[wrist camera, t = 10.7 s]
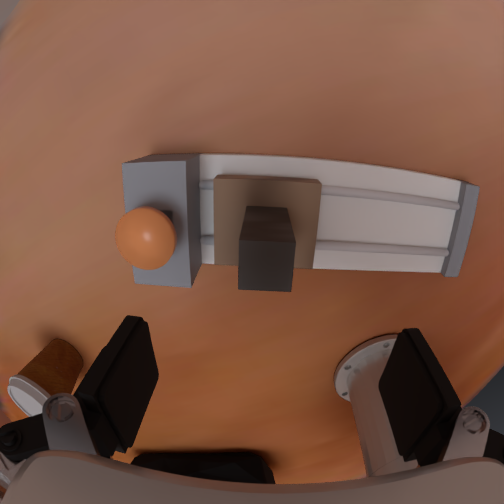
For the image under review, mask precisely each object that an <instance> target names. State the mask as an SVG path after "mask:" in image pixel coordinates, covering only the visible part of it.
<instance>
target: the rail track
mask: <svg viewBox="0 0 504 504" xmlns="http://www.w3.org/2000/svg"><path fill="white" fill-rule="evenodd" d="M122 173H123V188H124V201H125V212H126V213H128V212H129V211H131V210H132V209H134V208H137V207H141V206H149V207H153V208H156V209H158V210H160V211H161V212H163V213H164V214H165V215H166V216H167V217H168V218H169V219H170V220H171V222H172V223H173V225H174V227H175V230H176V234H177V245H176V249H175V251H174V253H173V255H172V256H171V258H170V259H169V261H168V262H167V263H166V264H165V265H163V266H162V267H160V268H158V269H154V270H144V269H140V268H137V267H135V266H133V265H132V267H133V273H134V279H135V283H138V284H149V285H161V286H174V287H188V288H191V287H192V285H193V283H194V280H195V278H196V276H197V273H198V271H199V269H200V267H201V264H202V263H206V264H214V209H213V179H214V178H215V177H216V176H217V175H255V176H276V177H293V178H308V179H318V180H319V181H320V182H321V183H322V190H321V201H320V211H319V220H318V229H317V238H316V246H315V254H314V262H313V268H314V269H341V270H370V271H403V272H440V273H441V274H442V275H443V276H444V277H458V275H459V271H460V268H461V265H462V262H463V258H464V255H465V251H466V248H467V244H468V240H469V236H470V232H471V228H472V224H473V219H474V215H475V210H476V205H477V200H478V194H479V188H480V187H479V186H476V185H474V184H471V183H469V182H466V181H462V180H457V179H453V178H448V177H443V176H438V175H433V174H428V173H423V172H418V171H412V170H406V169H400V168H394V167H387V166H381V165H374V164H366V163H358V162H350V161H341V160H332V159H321V158H310V157H297V156H282V155H262V154H225V153H195V154H159V155H149V156H145V157H142V158H138V159H135V160H132V161H128V162H125V163H122Z"/></svg>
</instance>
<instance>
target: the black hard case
mask: <svg viewBox="0 0 504 504" xmlns="http://www.w3.org/2000/svg"><path fill="white" fill-rule="evenodd" d="M131 465H135V466H139V467H143V468H148V469H152V470H157V471H162V472H166V473H171V474H177V475H182V476H188V477H194V478H201V479H208V480H217V481H226V482H238V483H254V484H275V480H274V476H273V473H272V470H271V469H270V468H269V467H268V465H267V464H266V463H265V462H264V461H263V459H262V458H261V457H259V456H257V455H255V454H252V453H249V452H246V453H220V454H199V453H193V454H169V453H158V454H141V455H139V456H137V457H135V458H134V459H133V461H132V462H131Z"/></svg>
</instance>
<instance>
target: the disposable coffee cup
mask: <svg viewBox="0 0 504 504" xmlns="http://www.w3.org/2000/svg"><path fill="white" fill-rule="evenodd" d="M82 366H83V360H82V358H81V356H80V354H79V353H78V352H77V351H76V349H75V348H74V347H73V346H71V345H70V344H69V343H67V342H65V341H63V340H60V339H54V340H53V341H52V342H51V343H49V344H48V345H47V346H46V347H45V348H44V349H43V350H42V351H41V352H40V353H39V354H38V355H37V356H36V357H35V358H34V359H33V360H31V361H30V362H29V363H28V364H27V365H26V366H25V367H24V368H23V369H22V370H21V371H20V372H19V373H18V374H17V375H14V376H12V377H10V379H9V385H8V393H9V395H10V396H11V398H12V399H13V401H14V402H15V403H16V405H17V406H18V407H19V408H20V409H21V410H22V411H23V412H24V413H26V414H27V415H28V416H29V417H31V416H34V415H37V414H40V413H42V408H43V405H44V403H45V401H46V400H47V399H48V398H49V397H51V396H52V395H55V394H57V393H69V394H71V393H72V391H73V388H74V386H75V383H76V381H77V378H78V376H79V373H80V371H81V369H82Z"/></svg>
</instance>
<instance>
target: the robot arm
mask: <svg viewBox="0 0 504 504" xmlns="http://www.w3.org/2000/svg"><path fill="white" fill-rule="evenodd" d="M158 376H159V373H158V368H157V364H156V360H155V355H154V351H153V346H152V342H151V337H150V332H149V327H148V323H147V322H146V321H144V320H143V318H142V317H137V316H130V315H128V316H126V317H125V319H124V320H123V322H122V323H121V325H120V326H119V328H118V329H117V331H116V332H115V333H114V335H113V336H112V338H111V340H110V341H109V343H108V344H107V346H105V347H104V348H103V349H102V350H101V352H100V353H99V355H98V356H97V358H96V359H95V361H94V363H93V364H92V366H91V367H90V369H89V370H88V372H87V374H86V375H85V377H84V378H83V380H82V382H81V383H80V385H79V386H78V388H77V390H76V391H75V393H74V395H71V394H69V393H57V394H55V395H52V396H51V397H49V398H48V399H47V400H46V401H45V403H44V405H43V408H42V413H40V414H37V415H34V416H31V417H28V418H25V419H21V420H18V421H15V422H11V423H8V424H6V425H3V426H2V427H1V428H0V504H504V435H502V434H500V433H498V432H496V431H494V430H492V429H489V428H490V422H489V418H488V416H487V415H486V414H485V412H484V411H483V410H481V409H479V408H477V407H473V406H472V407H466V408H464V409H463V410H462V408H461V406H460V405H461V402H460V400H459V398H458V396H457V394H456V392H455V391H454V389H453V387H452V385H451V383H450V381H449V380H448V378H447V376H446V374H445V372H444V371H443V369H442V367H441V365H440V364H439V362H438V360H437V358H436V357H435V355H434V353H433V352H432V350H431V348H430V347H429V345H428V343H427V342H426V340H425V338H424V337H423V335H422V333H421V332H420V330H419V329H418V328H409V329H403V330H402V332H401V333H399V334H398V335H396V334H395V335H386V336H381V337H377V338H375V339H372V340H369V341H367V342H365V343H363V344H361V345H360V346H358V347H357V348H355V349H354V350H352V351H351V352H350V353H349V354H348V355H347V356H345V358H344V359H343V360H342V361H341V362H340V364H339V365H338V367H337V369H336V371H335V374H334V385H335V389H336V391H337V393H338V394H339V396H340V397H342V398H343V399H345V400H347V401H350V402H351V405H352V409H353V414H354V418H355V422H356V427H357V431H358V436H359V440H360V445H361V449H362V454H363V459H364V464H365V469H366V474H367V478H362V479H355V480H346V481H337V482H325V483H309V484H254V483H238V482H226V481H217V480H208V479H201V478H194V477H188V476H182V475H177V474H171V473H166V472H162V471H157V470H152V469H148V468H143V467H139V466H135V465H131V464H127V463H124V462H120V461H117V460H113V458H112V456H113V455H114V452H115V451H118V452H122V453H125V454H126V451H127V448H128V447H130V448H131V447H132V446H133V443H134V441H135V438H136V435H137V433H138V430H139V427H140V425H141V422H142V419H143V417H144V414H145V412H146V409H147V406H148V404H149V401H150V399H151V396H152V394H153V391H154V389H155V386H156V383H157V381H158Z"/></svg>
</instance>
